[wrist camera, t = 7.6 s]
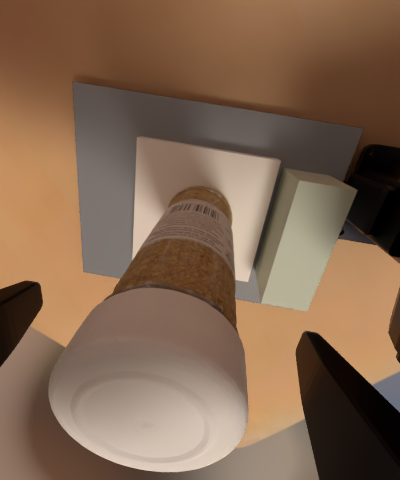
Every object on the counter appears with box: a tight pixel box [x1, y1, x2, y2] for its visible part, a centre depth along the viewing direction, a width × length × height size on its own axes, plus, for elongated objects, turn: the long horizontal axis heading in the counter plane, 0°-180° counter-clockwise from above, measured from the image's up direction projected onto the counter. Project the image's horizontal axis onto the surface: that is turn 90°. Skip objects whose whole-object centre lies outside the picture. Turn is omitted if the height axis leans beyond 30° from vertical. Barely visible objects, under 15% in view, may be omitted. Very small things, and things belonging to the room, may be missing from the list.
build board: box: [72, 81, 364, 311], centre depth 17 cm, size 18×14×5 cm
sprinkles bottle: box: [48, 186, 248, 472], centre depth 12 cm, size 5×5×13 cm
